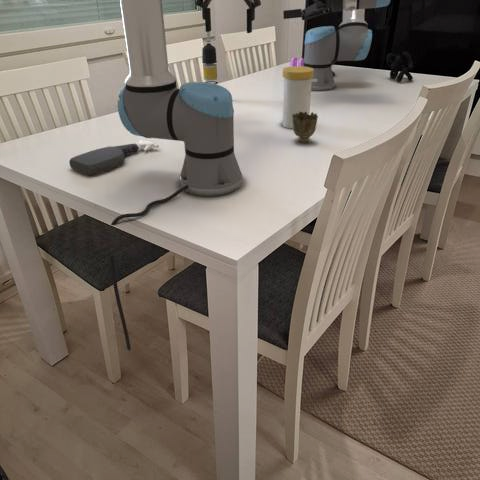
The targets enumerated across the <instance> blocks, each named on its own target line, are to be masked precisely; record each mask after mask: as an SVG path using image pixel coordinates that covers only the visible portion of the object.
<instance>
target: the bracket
mask: <svg viewBox="0 0 480 480" xmlns="http://www.w3.org/2000/svg"><path fill="white" fill-rule="evenodd" d="M292 66H304V57H300V58H299V59H298V58H297V57H294V56H292V57H291V59H290V67H292Z"/></svg>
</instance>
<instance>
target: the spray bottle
mask: <svg viewBox="0 0 480 480" xmlns="http://www.w3.org/2000/svg"><path fill="white" fill-rule="evenodd" d="M159 148H160V145H159V144H158V143H155V142H151V141H148V140H144V139H139V140H138V141H137V142H135V143H129V144H128V143H126V144H122V145H113V146H105V147H100V148H97V149H94V150H90V151H87V152H83V153H81V154H78V155H74V156H73V157H70V159H69V161H68V162H69V167H70V168H71V169H72V170H74V171H75V172H78V173H81V174H83V175H85V176H89V177H90V176H91V177H92V176H95V175H99V174H102V173H105V172H107V171H110V170H113V169H116V168H118V167H120V166H122V165H123V164H124V163H125V158H126V156H127V155H131V154H133V153H138V151H140V150H143V151H144V152H146V151H147V150H149V149H159Z"/></svg>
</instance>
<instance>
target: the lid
mask: <svg viewBox="0 0 480 480" xmlns="http://www.w3.org/2000/svg"><path fill="white" fill-rule="evenodd" d="M313 73H314V69H313V68H310V67H304V66H298V65H297V66H292V67H291V66H286V67H283V68H282V78H283V79H284V78H286V79H291V80H306V79H311V78H313Z"/></svg>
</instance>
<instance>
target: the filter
mask: <svg viewBox="0 0 480 480" xmlns="http://www.w3.org/2000/svg"><path fill="white" fill-rule="evenodd" d="M205 33H206V39H207V40H206V42H207V43H206V45H204V46H202V49H201V50H202V51H201V52H202V54H201V55H202V57H201V58H202V61H201V63H202V71H203V72H202V73H203V74H202V75H203V80H204V81H206V82H207V83H214V84H217V85H218V84H219V82H218V81H216V80H218V64H216V63H218V61H217V48H216V47H215V46H214V45H212V43H210V42H211V40H210V39H211V31H210V32H206V31H205Z"/></svg>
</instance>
